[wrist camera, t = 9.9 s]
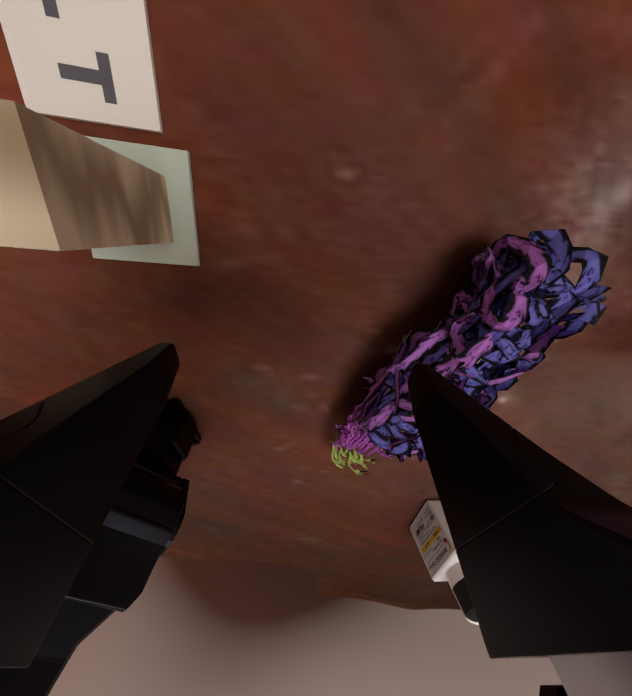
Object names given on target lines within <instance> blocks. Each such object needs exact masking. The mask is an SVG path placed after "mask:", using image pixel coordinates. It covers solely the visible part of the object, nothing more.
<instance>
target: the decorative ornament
mask: <svg viewBox="0 0 632 696" xmlns="http://www.w3.org/2000/svg"><path fill="white" fill-rule="evenodd" d="M540 240H543V241H544V242H545V243H543V242H541V241H540ZM508 257H509V258H510V260H509V261H508ZM607 260H608V256H606V255H604V254H602V253H600V252H597V251H595V250H593V249H591V248H589V247H573V246H572V244H571V241H570V239H569V237H568V235H567V233H566V230H565V229H559V230H543V231H533V232H530V234H529V237H528V238H524V237H520V236H515V235H510V234H506V235H505V236H503V237H502V238H500V239H498V240H497V241H495V242H494V243H493V244H492V246H491V247H490V248H489V247H488V246H487V245H486V244H485V251H482V252H479V253H475V254H472V255H471V277H472V288H473V296H472V297H471V295H470V293H469V292H467V291H462V290H459V291H458V292H457V293H456V294H455V295H454V298H453V302H452V305H451V309H450V311H449V315H448V317H447V318H445V319H443V320H441V321H440V322H439V323H438V325H437V326H436V328H435V329H434V330H433V332H430V330H429V331H427V330H424V329H421V330H419V331H416V332H414V333H413V334H412V335H411V337H410V338H409V340H408V345H406V342H405V339H407V337H406V338H405V337H404V336H403V335H402V342H401V343H402V344H400V345H401V346H399V348H398V349H397V350H398V351H396V353H395V354H394V355H393V357H392V359H391V362H390V363H388V364H384V365H383V366H382V367H381V368H380V369H379V370H378V371H377V372H376V373H375V378H372V377H362V378H364V379H365V380H366V381H367V382H368V383H369V384H370V386H371V387H370V389H369V391H370V392H369V394H368V395H367V397H366V398H365V399H362V400H361V401H360V402H359V404H358V405H357V406H354V407H355V408H354V413H353V414H352V416H351V415H350V416H349V417H350V420H351V421H349V418H348V417H347V418H348V419H347V420H348V421H347V423H348V424H344V425H340V426H344V427H343V429H342V428H341V427H340V426H338V425H336V424H335V425H336V427H337V426H338V427H337V428H339V427H340V428H339V430H338V432H341V430H342V432H341V438H340V440H339V441H337V442H335V443H334V441H332V440H331V441H332V442H331V441H330V442H331V443H332V445H333V446H332V449H333V450H334V454H335V458H337V460H339V461H336V460H334V457H333V451H332V460H333V463H335V464H336V463H337V464H336V465H337V466H338V467H340V468H342V467H341V464H343V462H345V461H343V460H341V459H342V458H341V457H340V452H341V454H342V456H344V455H345V453H346V452H347V451H348V449H351V450H353V451H354V456H353V455H351V452H350V450H349V451H348V457H347V458H348V465H347V466H349V467H350V468H351V469H352V467H351V466H350V465H349V464H351V463H352V462H354V463H355V462H356V463H357V464H358V465H359V464H361V465H362V466H363V467H365V466H367V465H366V464H363V460H364V459H363V458H362V454H365V453H366V452H365V451H367V449H368V450H369V448H373V446H374V445H377V446H376V447H375V448H374V449H373V450H372V451H371V452H370V453H369V454H371V453H373V452H374V451H376V450H377V451H378V453H379V454H380V455H382V456H384V457H390V455H391V454H392V455H396V456H397V457H398V458H399V460H400V461H399V462H401V463H402V462H403V461H404V459H405V458H406V457H407V456H408V457H411V455H414V454H417V456H418V458H419V460H420V462H421V461H422V459H423V458H424V459H425V460H427V458H426V454H425V451H424V448H423V445H422V442H421V439H420V435H419V432H418V429H417V426H416V423H415V419H414V415H413V410H412V405H411V400H410V395H409V389H408V384H407V380H408V377H409V375H410V373H411V371H412V368H413V366H414V365H415V364H416V363H424V364H428V365H429V366H430V367H432V368H433V369H434V370H436V371H437V372H438V373H440V374H441V375H443V376H444V377H445V378H447V379H448V380H449V381H451V382H452V383H453V384H455V385H456V386H457V387H459V388H460V389H461V390H463V391H464V392H465V393H467V394H468V395H470V396H471V397H472V398H474V399H475V400H476V401H478V402H479V403H480V404H482V405H483V406H484V407H486V408H487V409H488V410H489V408H490V407H491V406H492V405H493V403H494V402H495V401H496V399H497V398H498V396H497V391H502V390H508V389H509V388H510V387H511V386H513V385H514V384H515V383H516V382H517V381H518V379H517V377H516V376H518V375H520V374H522V373H524V372H526V371H529V370H532V369H533V368H534V367H535V366H536V365H537V364H539V363H540V362H541V361H542V360H543V359H544V358H546V356H545V354H544V352H545V351H546V349H547V348H548V347H549V346H550V344H551V343H552V342H553V341H554V339H564V338H567V337H569V336H571V335H574V334H576V333H579V332H581V331H583V329H584V328H585V327H586V325H587V324H588V323H590V324H592V325H595V324H596V323H597V321H598V320H599V318H600V317H601V315H602V314H603V312H604V311H605V309H606V308H607V307H605V306H604V305H602V304H600V303H598V302H602V301H605V300H606V299H607V298H606V297H605V296H603V295H602V294H603V293H605V292H606V291H608V290H610V289H612V288H610V287H605V286H600V285H596V284H598V283H599V282H600V280H601V277H602V274H603V271H604V269H605V266H606V263H607ZM571 262H576V263H581V264H582V273H581V275H580V277H579V279H578V282H577V284H576V286H574V285H573V283H572V282H571V281H570V280H569V279H568V278H567V277H566V276H565V275H564V274H565V273H567V272H568V271H569V269H570V264H571ZM491 270H492V271H493V274H492V277H490V275H489V272H490V271H491ZM546 298H553V299H551V300H545V299H546ZM582 302H583V304H581V305H579V304H580V303H582ZM578 305H579V306H578ZM583 308H586V309H585V310H584V311H583V313H572V314H568V313H569V312H570V311H572V310H574V309H583ZM450 312H451V315H450ZM454 312H459V313H457V314H455V315H454ZM460 313H461V314H460ZM524 321H525V322H526V323H525V324H524V325H522V326H521V327H520V326H519V325H520V324H522V323H523V322H524ZM564 321H567V322H566V323H565V324H564V325H558V323H559V322H564ZM441 322H442V323H446V325H445V326H441V327H439V325H440V324H441ZM438 327H439V328H438ZM410 328H411V327H410ZM408 331H409V330H408ZM407 333H408V332H407ZM410 333H411V332H410ZM406 335H407V334H406ZM406 335H405V336H406ZM408 336H409V334H408ZM404 338H405V339H404ZM422 341H423V342H422ZM419 342H420V343H419ZM417 344H418V345H417ZM493 346H495V347H493ZM522 350H525V352H524V353H523V355H522V356H521V357H520V355H519V354H520V353H519V352H521V351H522ZM518 353H519V354H518ZM405 355H406V357H404V356H405ZM402 359H403V360H402ZM480 359H482V360H481V361H480V362H479V363H478V364H476V362H477V361H478V360H480ZM437 361H440V362H437ZM436 362H437V363H436ZM493 373H494V374H493ZM448 375H449V377H447V376H448ZM455 382H456V383H455ZM367 389H368V388H367ZM397 410H398V411H397ZM349 422H350V423H349ZM346 426H347V427H346ZM356 426H357V428H356ZM344 428H345V430H344ZM354 428H355V429H354ZM346 429H347V430H346ZM356 429H357V430H356ZM362 429H364V430H362ZM399 429H401V430H403V431H405V432H404V433H403V432H401V431H400V430H399ZM364 431H366V432H364ZM343 432H344V433H343ZM406 432H407V433H406ZM402 433H403V434H405V435H403V434H402ZM359 434H360V435H359ZM360 436H361V437H360ZM359 437H360V438H359ZM386 437H390V439H391V440H390V439H388V438H386ZM338 438H339V437H338ZM345 439H346V442H344V441H345ZM349 440H350V441H349ZM361 440H362V441H361ZM359 442H360V443H359ZM352 443H353V445H351V444H352ZM362 443H363V444H362ZM373 443H374V444H373ZM341 444H342V446H343V447H345V448H346V452H345V451H344V452H345V453H344V452H343V451H342V448H343V447H342V446H341ZM347 444H349V445H347ZM357 444H358V447H355V446H356V445H357ZM361 444H362V446H361V447H359V446H360V445H361ZM365 444H366V445H367V447H366V445H365ZM338 445H339V446H338ZM364 445H365V449H364V450H363V448H362V447H364ZM370 445H371V446H370ZM338 447H341V450H340V452H339V455H338V453H337V449H338ZM352 447H353V448H352ZM354 447H355V448H357V451H358V452H357V451H356V449H355V448H354ZM379 447H380V448H381V452H380V451H379V450H378V448H379ZM358 448H359V449H360V448H361V451H359V449H358ZM362 450H363V451H362ZM382 450H384V451H385V453H386V455H385V454H383V453H382ZM377 451H376V452H377ZM355 452H356V453H355ZM368 452H369V451H368ZM343 453H344V454H343ZM357 453H358V454H360V460H359V459H358V456H357ZM369 454H368V455H369ZM346 455H347V454H346ZM346 455H345V456H344V457H346ZM368 455H366V456H368ZM401 455H402V456H401ZM366 456H364V457H366ZM338 457H339V459H338ZM353 457H354V459H353ZM390 459H391V458H390ZM344 460H345V459H344ZM356 460H357V461H358V462H357V461H356ZM373 460H378V459H371V460H365V461H367V462H370V461H373ZM340 461H341V462H340ZM351 461H352V462H351ZM349 462H351V463H349ZM379 462H380V461H379ZM346 463H347V462H346ZM356 463H355V465H356ZM371 463H373V462H371ZM377 463H378V462H377ZM339 464H340V466H339ZM374 464H376V463H374ZM343 465H346V464H345V463H344V464H343ZM343 465H342V466H343ZM364 465H365V466H364ZM359 466H360V465H359ZM360 467H361V466H360ZM365 468H366V467H365ZM343 469H344V468H343ZM367 469H368V468H367ZM352 470H353V469H352ZM353 471H354V472H355V473H357V474H358V473H360V472H368V471H359V470H353ZM371 474H372V473H371ZM358 475H364V474H363V473H362V474H358Z"/></svg>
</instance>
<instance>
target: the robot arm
mask: <svg viewBox="0 0 632 696" xmlns="http://www.w3.org/2000/svg"><path fill="white" fill-rule="evenodd" d="M178 368H179V358H178V355H177V352H176V348H175V346H174V344H172V343H159V344H157V345H155V346H153V347H151V348H149V349H146V350H144V351H142V352H140V353H138V354H136V355H134V356H132V357H130V358H128V359H126V360H124V361H122V362H120V363H118V364H116V365H114V366H111V367H109V368H107V369H105V370H103V371H101V372H99V373H97V374H95V375H93V376H91V377H89V378H87V379H85V380H83V381H81V382H79V383H77V384H74V385H72V386H70V387H68V388H66V389H64V390H62V391H60V392H58V393H56V394H54V395H52V396H50V397H48V398H46V399H45V400H44V401H43V400H42V401H39V402H37V403H35V404H33V405H31V406H29V407H27V408H25V409H23V410H21V411H19V412H17V413H14V414H12V415H10V416H8V417H6V418H4V419H2V420H0V696H48V694H49V693H50V691H51V689H52V688H53V686H54V684H55V682H56V680H57V679H58V677H59V676H60V674H61V672H62V670H63V669H64V667H65V665H66V664H67V662H68V660H69V659H70V657H71V655H72V653H73V652H74V651H75V649H76V647H77V646H78V645H79V644H80V643H81V642H82V641H83V640H84V639H85V638H86V637H87V636H88V635H89V634H91V632H93V631H94V630H95V629H96V628H97V627H98V626H99V625H100V624H101V623H103V622H104V621H105V620H106V619H107V618H108V617H109V616H110V615H111V614H112V613H113V612H115V611H120V612H123V611H125V610H126V609H127V608H128V607H129V606H130V605H131V604H132V603H133V602H134V601H135V600H136V599H137V598H138V596H139V595H140V594H141V593H142V591H143V589H144V587H145V584H146V582H147V580H148V578H149V576H150V574H151V572H152V569H153V568H154V565H155V563H156V561H157V559H158V558H159V556H160V555H161V554H163V553H164V551H165V550H166V549H167V548H168V546H169V545H170V544H171V542H172V541H173V539H174V537H175V536H176V534H177V532H178V530H179V528H180V526H181V523H182V521H183V518H184V514H185V508H186V501H187V494H188V487H189V480H187V479H185V478H184V479H182V478H180V477H178V476H176V474H177V472H178V470H179V467H180V465H181V463H182V461H184V460H186V458H187V456H188V453H189V451H190V449H191V446H192V445H196V444H199V443H200V441H201V437H200V435H199V433H198V430H197V428H196V426H195V425H194V423H193V421H192V419H191V417H190V416H189V415H188V414H187V412H186V410H185V408H184V407H183V405H182V403H181V401H180V400H178V399H171V400H167V398H168V395H169V392H170V390H171V387H172V384H173V382H174V379H175V376H176V374H177V371H178ZM407 384H408V389H409V395H410V400H411V405H412V410H413V415H414V419H415V423H416V426H417V429H418V432H419V435H420V439H421V442H422V445H423V448H424V451H425V454H426V458H427V461H428V464H429V467H430V470H431V474H432V477H433V480H434V483H435V486H436V489H437V493H438V496H439V499H440V502H441V505H442V508H443V512H444V515H445V518H446V521H447V524H448V528H449V531H450V534H451V537H452V540H453V543H454V547H455V549H456V554H457V557H458V560H459V563H460V566H461V569H462V573H463V576H464V579H465V582H466V585H467V588H468V592H469V595H470V598H471V601H472V604H473V607H474V611H475V614H476V617H477V620H478V623H479V626H480V630H481V633H482V636H483V639H484V642H485V645H486V648H487V651H488V654H489V656H490V658H491V659H496V658H497V659H499V658H544V657H545V658H548V657H549V658H550V660H551V662H552V664H553V666H554V668H555V670H556V672H557V674H558V676H559V678H560V680H561V682H562V685H541V686H540V693H539V694H540V695H539V696H632V507H630V506H629V505H627V504H625V503H623V502H621V501H620V500H618V499H616V498H615V497H613V496H612V495H610V494H609V493H607V492H606V491H604V490H603V489H601V488H600V487H598V486H597V485H595V484H594V483H592V482H591V481H589V480H588V479H586V478H585V477H583V476H582V475H580V474H579V473H577V472H576V471H574V470H573V469H571V468H570V467H568V466H567V465H565V464H564V463H562V462H561V461H559V460H558V459H556V458H555V457H553V456H552V455H550V454H549V453H547V452H546V451H545V450H543V449H542V448H540V447H539V446H537V445H536V444H535V443H533V442H532V441H531V440H529V439H528V438H526V437H525V436H524V435H522V434H521V433H520V432H518V431H517V430H516V429H514V428H513V429H512V427H511V426H510V425H509V424H507V423H506V422H505V421H503V420H502V419H501V418H499V417H498V416H497V415H495V414H494V413H493V412H491V411H490V410H488V409H487V408H486V407H484V406H483V405H482V404H480V403H479V402H478V401H476V400H475V399H474V398H472V397H471V396H470V395H468V394H467V393H465V392H464V391H463V390H461V389H460V388H459V387H457V386H456V385H455V384H453V383H452V382H451V381H449V380H448V379H447V378H445V377H444V376H443V375H441V374H440V373H438V372H437V371H436V370H434V369H433V368H432V367H430V366H429V365H428V364H424V363H416V364H415V365H414V366H413V368H412V371H411V373H410V375H409V377H408V380H407ZM166 400H167V401H166ZM174 403H176V404H174Z"/></svg>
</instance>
